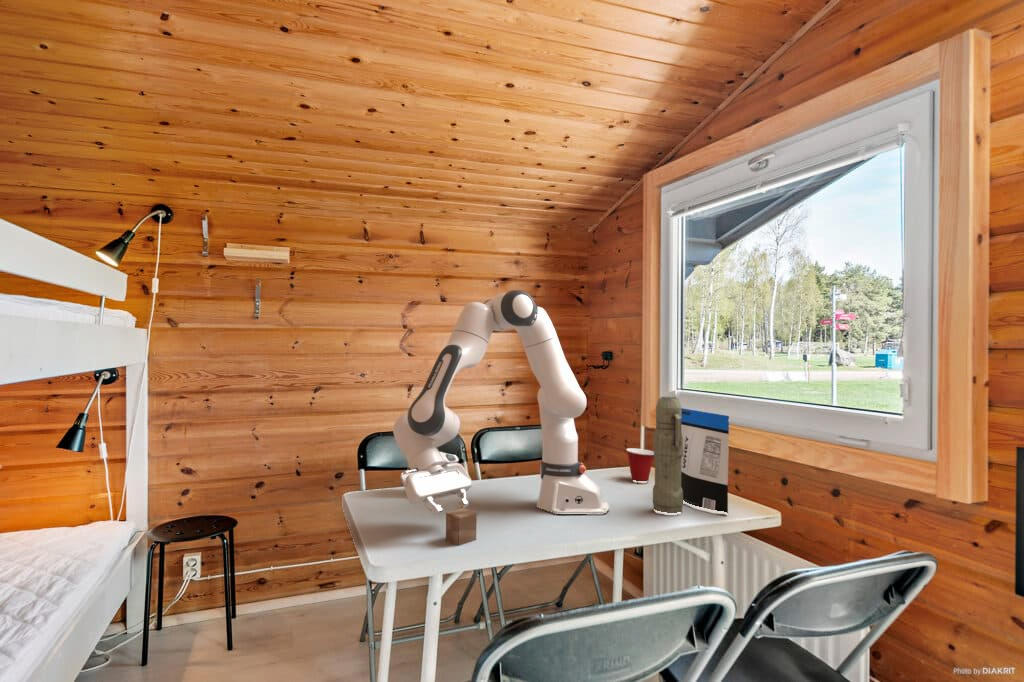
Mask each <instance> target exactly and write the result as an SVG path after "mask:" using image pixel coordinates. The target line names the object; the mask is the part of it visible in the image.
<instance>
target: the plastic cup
mask: <svg viewBox="0 0 1024 682" xmlns="http://www.w3.org/2000/svg"><path fill="white" fill-rule="evenodd" d="M626 453H627V459H628V463H629V470H630V475H631V476H630V477H631V481H632V480H636V481H647V480H648V481H649V478H650V474H651V469H652V463H653V460H654V459H655V455H654V450H649V449H643V448H634V447H633V448H631V447H629V448H626Z"/></svg>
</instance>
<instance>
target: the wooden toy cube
mask: <svg viewBox="0 0 1024 682" xmlns="http://www.w3.org/2000/svg"><path fill="white" fill-rule="evenodd" d="M477 513H478V512H477V511H476V510H472V509H468V508H466V507H464V508H459V509H456V510H451V511H448V512H446V513H445V542H446V541H447V542H446V543H449V542H450V544H453V545H456V546H462V545H465V544H467V543H470V542H474V541H476V540H477V523H478V521H477V519H478V518H477ZM473 540H474V541H473Z"/></svg>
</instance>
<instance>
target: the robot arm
mask: <svg viewBox="0 0 1024 682" xmlns="http://www.w3.org/2000/svg"><path fill="white" fill-rule="evenodd" d="M513 329H514V330H515V331H516V332H517V334H518V335H519V337H520V341H521V343H522V346H523V348H524V352H525V355H526V358H527V361H528V363H529V366H530V369H531V372H532V373H533V375H534V376H535V378H536V380H537V382H538V384H539V386H540V388H539V390H538V392H537V396H536V397H537V403H538V409H539V419H540V425H541V427H540V428H541V432H542V434H541V435H542V450H541V451H542V460H541V462H540V466H539V467H540V473H539V474H540V480H541V481H540V488H539V495H538V499H537V502H536V505H537V506H536V508H538V507H539V508H538V509H540V508H541V509H540V510H542V509H545V510H548V511H547V512H549V511H552V512H554V513H558V514H561V513H562V514H563V513H604V512H607V511H608V510H609V511H610V505H609V503H608V502H607V501H605V500H604V499H603V494H602V491H601V488H600V486H599V485H598V484H596V483H595V482H594V481H593V480H592V479H590V478H589V477H588V476H587V475H586V474H585V472H586V471H587V470H586V469H587V468H586V466H585V465H584V463H583V462H581V461H579V460H578V458H579V457H578V455H579V443H578V442H579V435H578V432H577V429H576V425H575V420H574V419H576V418H578V417H580V416H581V415H582V414H583V413H584V412H585V410H586V408H587V403H588V402H587V397H586V394H585V393H584V391H583V389H582V388H581V387H580V385H579V383H578V380H577V379H576V377H575V375H574V373H573V371H572V369H571V367H570V364H569V363H568V361H567V359H566V357H565V354H564V350H563V349H562V346H561V343H560V340H559V337H558V335H557V331H556V329H555V327H554V325H553V322H552V320H551V318H550V317H549V315H548V313H547V311H546V310H545V309H544V308H543V307H541V306H538V305H537V304H536V303H535V301H534V299H533V298H532V296H531V295H530V294H529V293H528V292H526V291H524V290H522V289H521V290H520V289H511V290H509V291H507V292H503V293H499V294H497V295H495V296H494V297H492V298H489V299H487V300H486V301H484V302H483V303H482V302H478V301H472V302H469V303H467V304H466V305H465V306H464V307H463V309H462V310H461V312H460V314H459V316H458V318H457V319H456V322H455V324H454V326H453V329H452V331H451V334H450V337H449V339H448V341H447V343H446V345H445V347H443V349H442V350H441V351H440V352H439V355H438V357H437V358H436V361H435V362H434V365H433V367H432V369H431V371H430V373H429V375H428V377H427V379H426V382H425V384H424V386H423V388H422V390H421V391H420V393H419V394H418V396H417V397H416V398H415V399H414V401H413V402H412V403H411V404H410V407H409V408H408V411H407V412H406V413H404V414H402V415H400V416H399V417H398V419H396V421H395V422H394V423H393V428H392V433H393V436H394V440H395V441H396V444H397V446H398V447H399V450H400V452H401V454H402V455H403V456H405V458H406V461H407V466H408V465H409V467H410V469H411V470H408V469H407V470H406V469H405V470H403V471H402V472H401V473H400V476H399V478H400V481H401V483H402V484H403V488H404V492H405V495H406V496H407V499H408V500H409V502H410V503H411V504H412V505H417V504H422V503H423V504H424V505H425V507H427V508H428V509H429V510H431V511H432V513H433V514H434V516H438V515H441V513H442V512H443V508H442V507H441V504H440V505H439V504H436V503H435V502H434V500H438V499H443V498H447V497H450V496H451V497H452V496H455V495H456V496H457V497H458V498H459V500H460V501H459V502H458V504H459V506H460V509H462V508H468V505H469V501H468V500H467V491H469V489H470V488H472V487H473V486H472V485H473V481H472V478H471V476H470V475H469V473H468V472H467V470H466V469H465V467H464V466H463V465H462V464H461V463H459V461H460V460H459V456H457V455H456V454H451V453H448V452H447V453H446V452H443V451H439V449H438V448H440V447H442V446H444V445H445V444H448V443H449V442H452V441H453V440H454V439H455V438H456V437H457V436H458V435H459V432H460V429H461V419H460V417H459V415H458V414H457V413H456V412H454V411H453V410H452V409H451V408H449V407H447V406H446V404H445V399H446V397H447V396H446V395H447V394H448V391H449V389H450V387H451V385H452V382H453V380H454V378H455V376H456V374H457V373H458V372H459V371H461V370H464V369H471V368H474V367H476V366H478V365H479V364H480V363H481V362H482V360H483V358H484V357H485V354H486V352H487V348H488V346H489V342H490V339H491V335H492V333H500V332H508V331H511V330H513ZM545 510H544V511H545ZM552 512H551V513H552ZM554 513H553V514H554Z"/></svg>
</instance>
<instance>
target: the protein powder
mask: <svg viewBox="0 0 1024 682" xmlns="http://www.w3.org/2000/svg"><path fill="white" fill-rule="evenodd" d="M681 419H682V425H681V433H682V436H683V456H682V458H681V487H682V490H683V500H684V501H685V502H687V503H689V504H692V505H695V506H699V507H703V508H707V509H711V510H717V511H724V512H727V513H728V514H729V506H728V505H729V501H728V500H729V498H728V497H729V494H728V493H729V491H728V490H729V489H728V488H729V454H730V453H729V451H730V450H729V449H730V448H729V447H730V446H729V445H730V444H729V443H730V439H729V437H730V436H729V435H730V433H729V432H730V430H729V429H730V427H729V426H730V425H729V424H730V421H729V420H730V415H727V414H726V415H724V414H719V413H712V412H706V411H701V410H695V409H688V408H683V407H681Z"/></svg>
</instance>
